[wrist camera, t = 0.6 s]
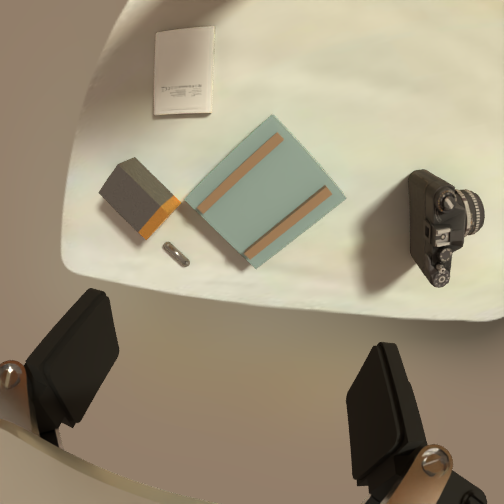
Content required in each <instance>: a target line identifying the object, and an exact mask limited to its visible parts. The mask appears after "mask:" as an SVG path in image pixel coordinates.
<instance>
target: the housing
mask: <svg viewBox="0 0 504 504" xmlns="http://www.w3.org/2000/svg"><path fill="white" fill-rule="evenodd" d="M99 194H100V195H101V196H102V197H103V198H104V199H105V200H106V201H107V202H108V203H109V204H110V205H111V206H112V207H113V208H114V209H115V210H116V211H117V212H118V213H119V214H120V215H121V216H122V217H123V218H124V219H125V220H126V221H127V222H128V223H129V224H130V225H131V226H132V227H133V228H134V229H135V230H136V231H137V232H138V233H139V234H140V235H141V236H142V237H144V238H145V239H146V240H147V239H148V238H149V237H150V236H151V235H152V234H153V233H154V232H155V231H156V230H157V229H158V228H159V227H160V225H161V224H162V223H163V222H164V221H165V220H166V219H167V218H168V217H169V216H170V215H171V213H172V212H173V211H174V210H175V209H176V208H177V207H178V206H179V205H180V204H181V202H180V201H179V200H178V199H177V198H176V197H175V196H174V195H173V194H172V193H171V192H170V191H169V190H168V189H167V188H166V187H165V186H164V185H163V184H162V183H161V182H160V181H159V180H158V179H157V178H156V177H155V176H154V175H152V174H151V173H150V172H149V171H148V170H147V169H146V168H145V167H144V166H143V165H142V164H141V163H140V162H139V161H138V160H137V159H136V158H135V157H134V158H132V159H129V160H127V161H124V162H122V163H120V164H118V165H117V166H116V168H115V169H114V171H113V172H112V174H111V175H110V176H109V178H108V179H107V181H106V182H105V184H104V185H103V187H102V188H101V190H100V191H99Z"/></svg>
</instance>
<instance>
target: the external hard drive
mask: <svg viewBox="0 0 504 504" xmlns="http://www.w3.org/2000/svg"><path fill="white" fill-rule="evenodd" d="M214 40H215V27H214V26H204V27H193V28H183V29H175V30H168V31H161V32H156V39H155V63H154V115H166V114H186V113H212V94H213V63H214Z"/></svg>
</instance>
